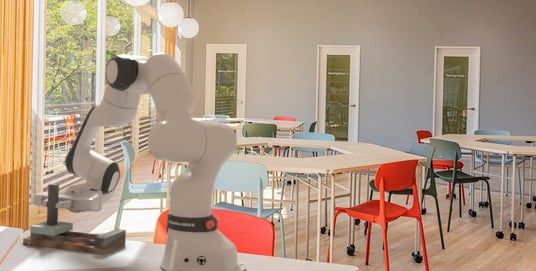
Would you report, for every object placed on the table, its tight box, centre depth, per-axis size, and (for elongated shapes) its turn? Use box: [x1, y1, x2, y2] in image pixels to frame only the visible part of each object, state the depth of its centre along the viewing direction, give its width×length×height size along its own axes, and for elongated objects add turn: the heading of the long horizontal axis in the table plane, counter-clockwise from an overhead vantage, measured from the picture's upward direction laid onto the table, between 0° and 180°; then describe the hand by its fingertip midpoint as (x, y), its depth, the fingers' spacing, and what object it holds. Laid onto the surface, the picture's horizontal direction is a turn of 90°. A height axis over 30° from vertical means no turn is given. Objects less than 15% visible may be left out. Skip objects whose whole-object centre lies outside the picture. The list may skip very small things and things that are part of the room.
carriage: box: [29, 183, 74, 236], centre depth 161 cm, size 8×9×14 cm
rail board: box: [22, 228, 127, 255], centre depth 159 cm, size 26×12×4 cm, turn 76°
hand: (51, 205), depth 160 cm, fingers closed on carriage, 3 cm apart
